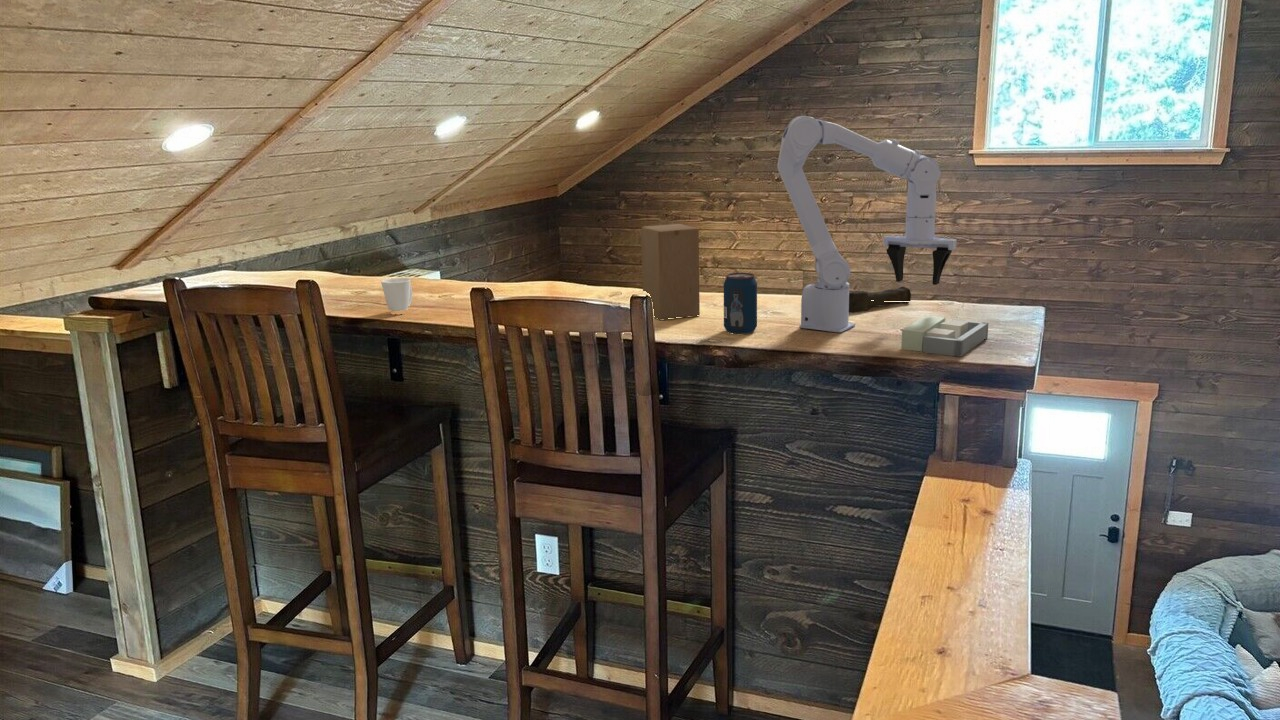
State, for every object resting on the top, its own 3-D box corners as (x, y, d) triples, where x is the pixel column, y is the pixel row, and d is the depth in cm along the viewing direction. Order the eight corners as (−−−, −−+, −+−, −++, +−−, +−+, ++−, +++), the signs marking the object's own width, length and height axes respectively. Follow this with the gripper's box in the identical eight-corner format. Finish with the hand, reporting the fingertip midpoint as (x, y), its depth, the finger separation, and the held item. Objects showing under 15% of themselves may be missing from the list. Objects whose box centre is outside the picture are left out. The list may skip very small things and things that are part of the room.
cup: (378, 316, 227) (374, 282, 225) (399, 307, 236) (396, 275, 234) (404, 317, 225) (401, 283, 223) (425, 308, 234) (422, 275, 232)
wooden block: (700, 316, 216) (699, 227, 211) (659, 321, 213) (657, 231, 208) (682, 308, 225) (680, 223, 220) (642, 313, 222) (640, 226, 217)
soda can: (750, 326, 205) (750, 271, 202) (761, 333, 199) (761, 276, 195) (719, 329, 204) (719, 273, 201) (729, 336, 197) (729, 278, 194)
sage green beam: (901, 350, 184) (902, 329, 183) (924, 334, 195) (925, 315, 194) (921, 352, 182) (922, 332, 181) (944, 337, 193) (945, 317, 192)
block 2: (939, 340, 189) (940, 323, 188) (947, 336, 192) (948, 319, 191) (959, 343, 187) (960, 325, 186) (967, 339, 190) (968, 322, 189)
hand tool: (899, 301, 227) (900, 282, 226) (911, 304, 224) (912, 284, 222) (836, 312, 218) (837, 292, 217) (848, 315, 215) (849, 294, 214)
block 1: (925, 350, 183) (926, 332, 182) (933, 345, 186) (934, 328, 185) (946, 352, 180) (947, 334, 179) (953, 348, 183) (955, 330, 182)
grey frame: (922, 352, 181) (923, 336, 180) (952, 333, 194) (953, 319, 193) (960, 356, 177) (961, 341, 176) (987, 337, 190) (988, 322, 189)
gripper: (878, 217, 196) (876, 282, 199) (950, 220, 188) (946, 288, 191) (891, 213, 201) (888, 277, 205) (961, 216, 193) (957, 282, 197)
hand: (917, 282), depth 198 cm, fingers open, 7 cm apart
